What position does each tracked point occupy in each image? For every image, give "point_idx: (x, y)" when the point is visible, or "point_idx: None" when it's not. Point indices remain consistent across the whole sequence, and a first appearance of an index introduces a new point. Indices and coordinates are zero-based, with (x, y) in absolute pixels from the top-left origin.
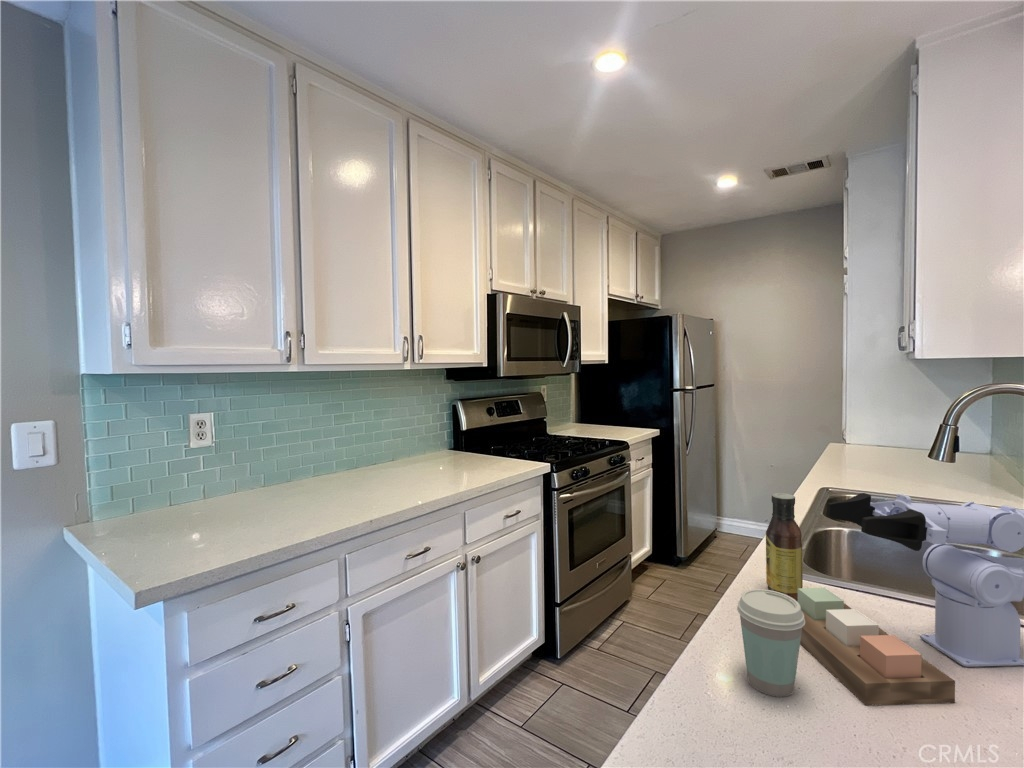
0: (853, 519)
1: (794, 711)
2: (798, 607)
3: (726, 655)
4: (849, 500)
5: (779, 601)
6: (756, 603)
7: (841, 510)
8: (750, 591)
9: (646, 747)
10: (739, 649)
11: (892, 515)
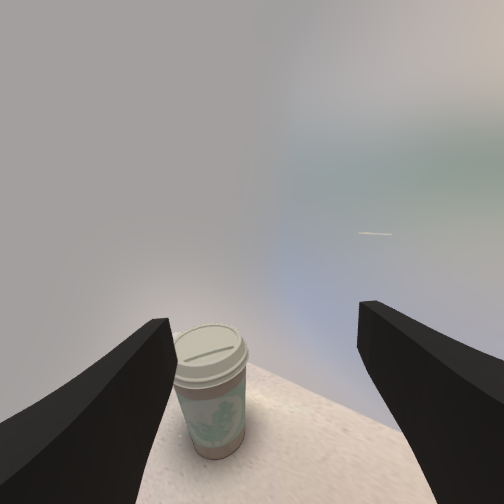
0: (431, 468)
1: (170, 438)
2: (178, 361)
3: (276, 406)
4: (455, 353)
5: (205, 352)
6: (206, 332)
7: (386, 359)
8: (235, 332)
9: (175, 337)
10: (291, 425)
11: (83, 395)
